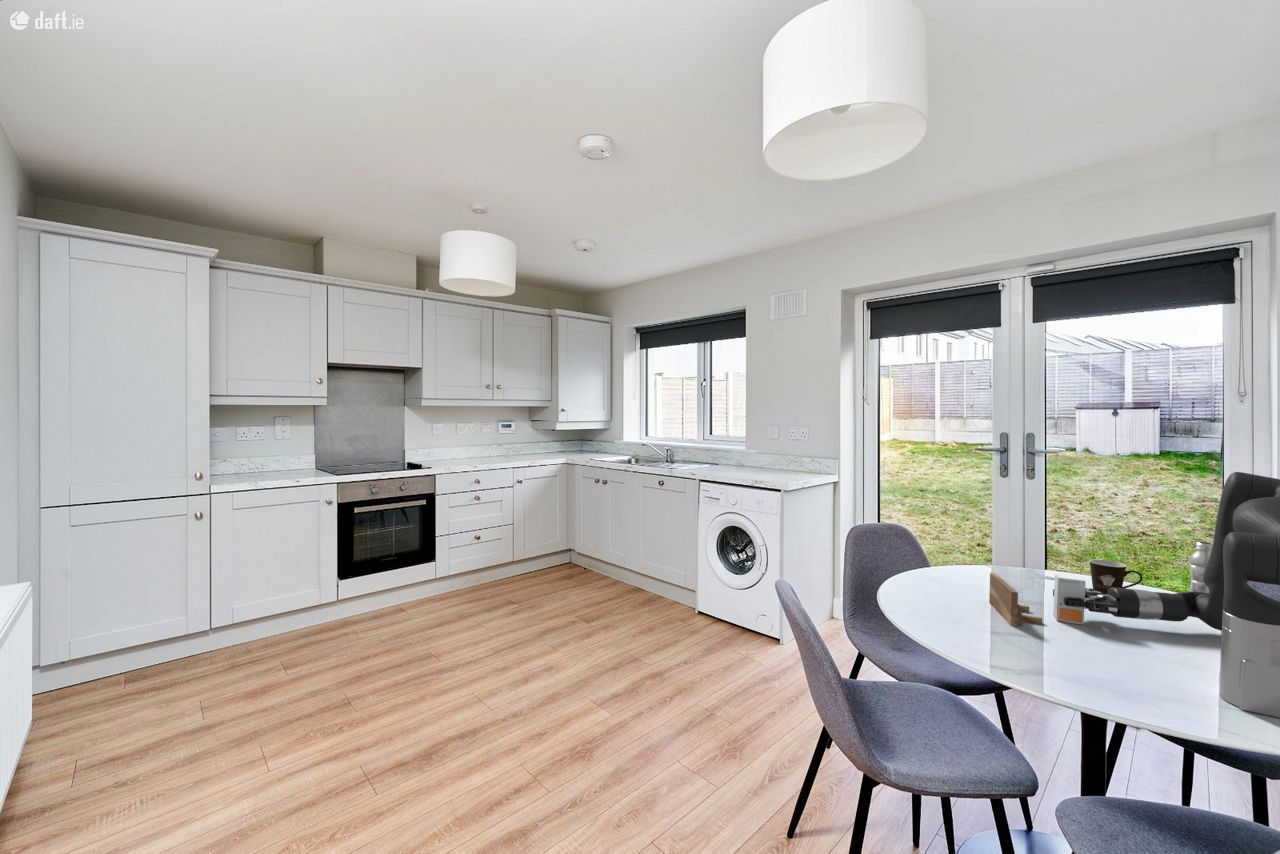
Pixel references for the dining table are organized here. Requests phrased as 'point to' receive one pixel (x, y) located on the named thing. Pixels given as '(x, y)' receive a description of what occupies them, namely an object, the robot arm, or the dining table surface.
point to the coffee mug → (1109, 575)
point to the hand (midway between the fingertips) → (1059, 597)
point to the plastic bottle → (1199, 566)
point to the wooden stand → (1008, 602)
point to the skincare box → (1068, 588)
